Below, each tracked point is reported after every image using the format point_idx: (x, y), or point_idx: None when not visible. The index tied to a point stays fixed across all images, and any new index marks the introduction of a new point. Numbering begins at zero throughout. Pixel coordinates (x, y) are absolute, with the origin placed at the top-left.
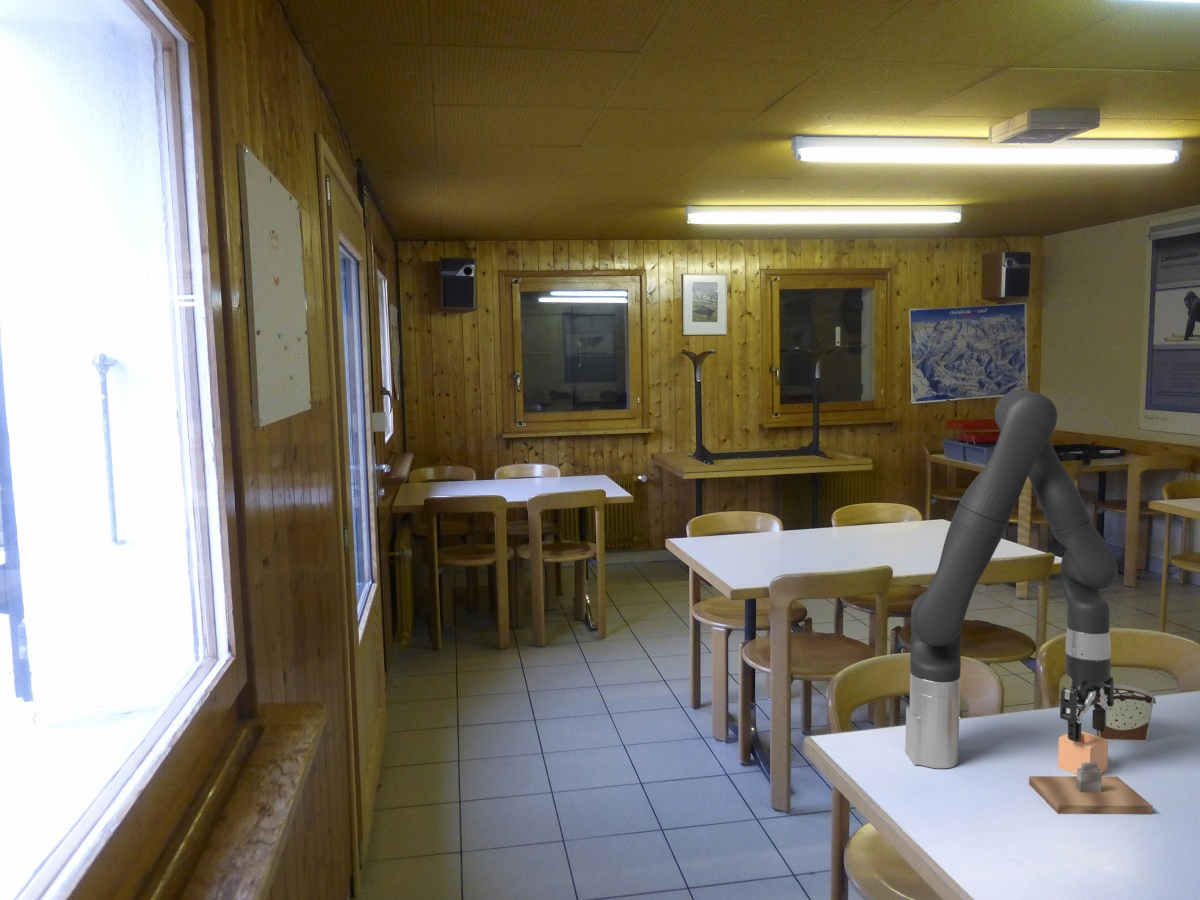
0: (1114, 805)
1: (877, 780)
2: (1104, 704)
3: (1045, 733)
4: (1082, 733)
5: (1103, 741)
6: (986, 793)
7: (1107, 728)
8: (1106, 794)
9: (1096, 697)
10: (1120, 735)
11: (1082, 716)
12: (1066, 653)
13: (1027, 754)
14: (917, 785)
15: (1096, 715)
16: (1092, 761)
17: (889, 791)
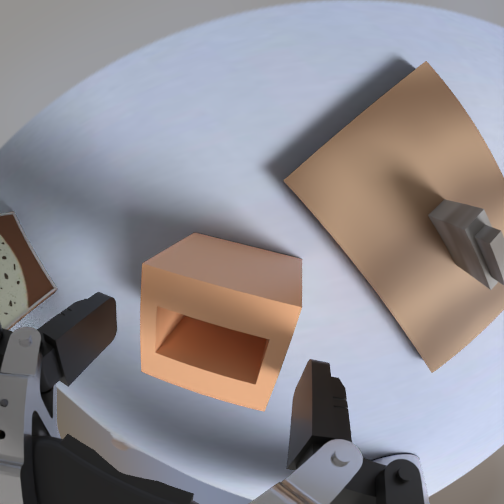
0: (491, 154)
1: (471, 461)
2: (27, 383)
3: (111, 380)
4: (159, 355)
5: (174, 276)
6: (485, 386)
7: (29, 285)
8: (449, 182)
9: (51, 478)
10: (26, 256)
11: (304, 470)
12: None
13: None
14: (477, 440)
15: (77, 359)
16: (282, 274)
17: (496, 441)
